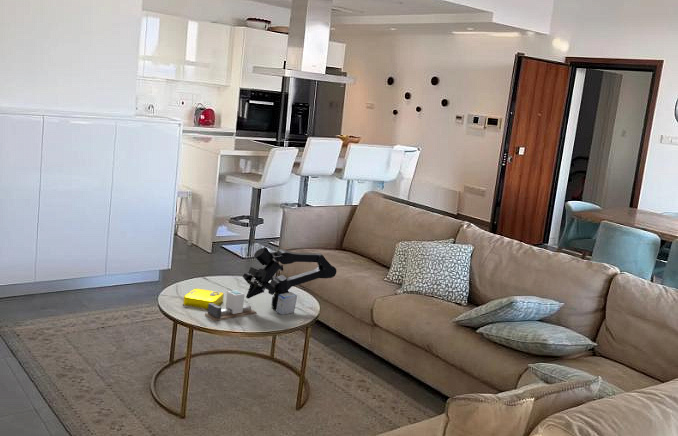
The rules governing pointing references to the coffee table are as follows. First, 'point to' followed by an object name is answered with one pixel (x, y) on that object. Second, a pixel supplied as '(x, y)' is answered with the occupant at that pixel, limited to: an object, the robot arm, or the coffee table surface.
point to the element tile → (202, 298)
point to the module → (235, 301)
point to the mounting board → (231, 315)
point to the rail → (222, 310)
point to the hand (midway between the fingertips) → (247, 297)
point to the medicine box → (286, 303)
